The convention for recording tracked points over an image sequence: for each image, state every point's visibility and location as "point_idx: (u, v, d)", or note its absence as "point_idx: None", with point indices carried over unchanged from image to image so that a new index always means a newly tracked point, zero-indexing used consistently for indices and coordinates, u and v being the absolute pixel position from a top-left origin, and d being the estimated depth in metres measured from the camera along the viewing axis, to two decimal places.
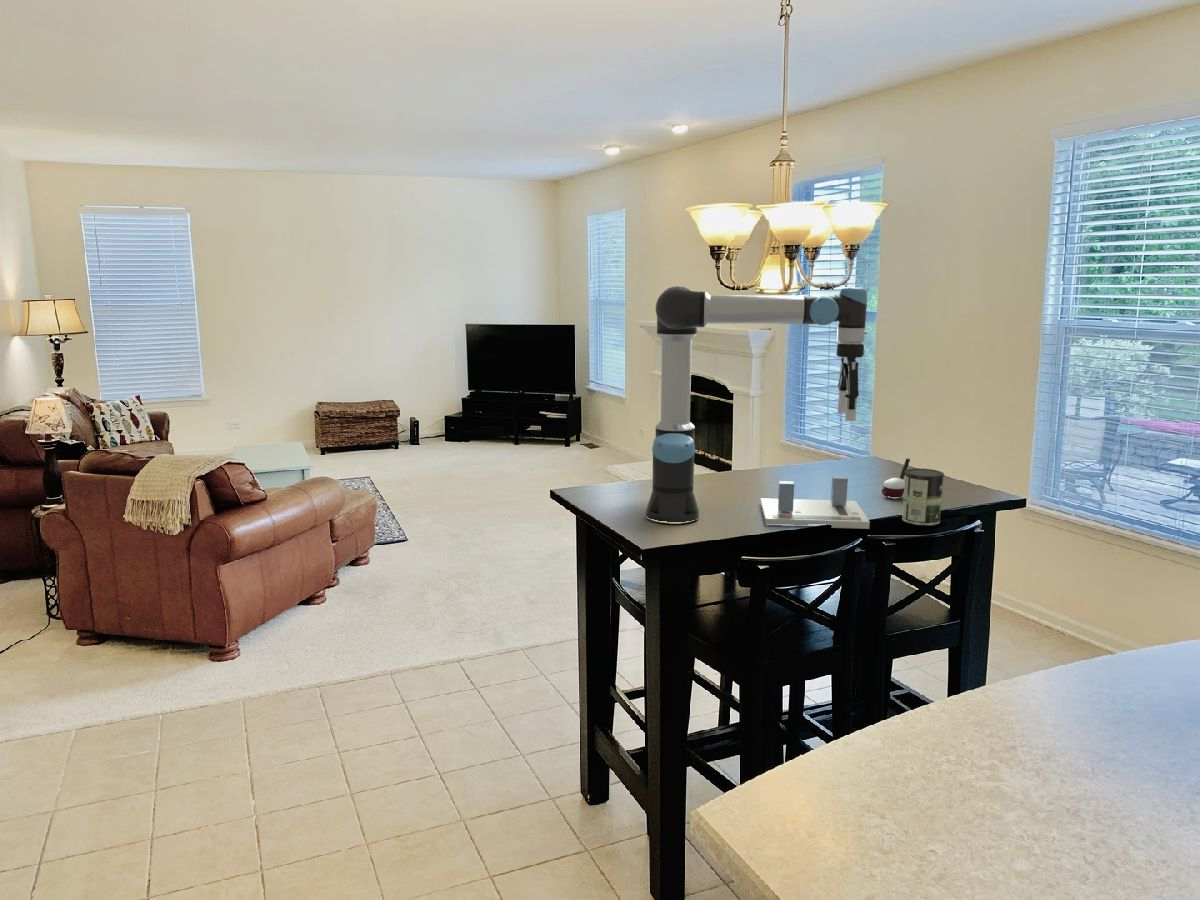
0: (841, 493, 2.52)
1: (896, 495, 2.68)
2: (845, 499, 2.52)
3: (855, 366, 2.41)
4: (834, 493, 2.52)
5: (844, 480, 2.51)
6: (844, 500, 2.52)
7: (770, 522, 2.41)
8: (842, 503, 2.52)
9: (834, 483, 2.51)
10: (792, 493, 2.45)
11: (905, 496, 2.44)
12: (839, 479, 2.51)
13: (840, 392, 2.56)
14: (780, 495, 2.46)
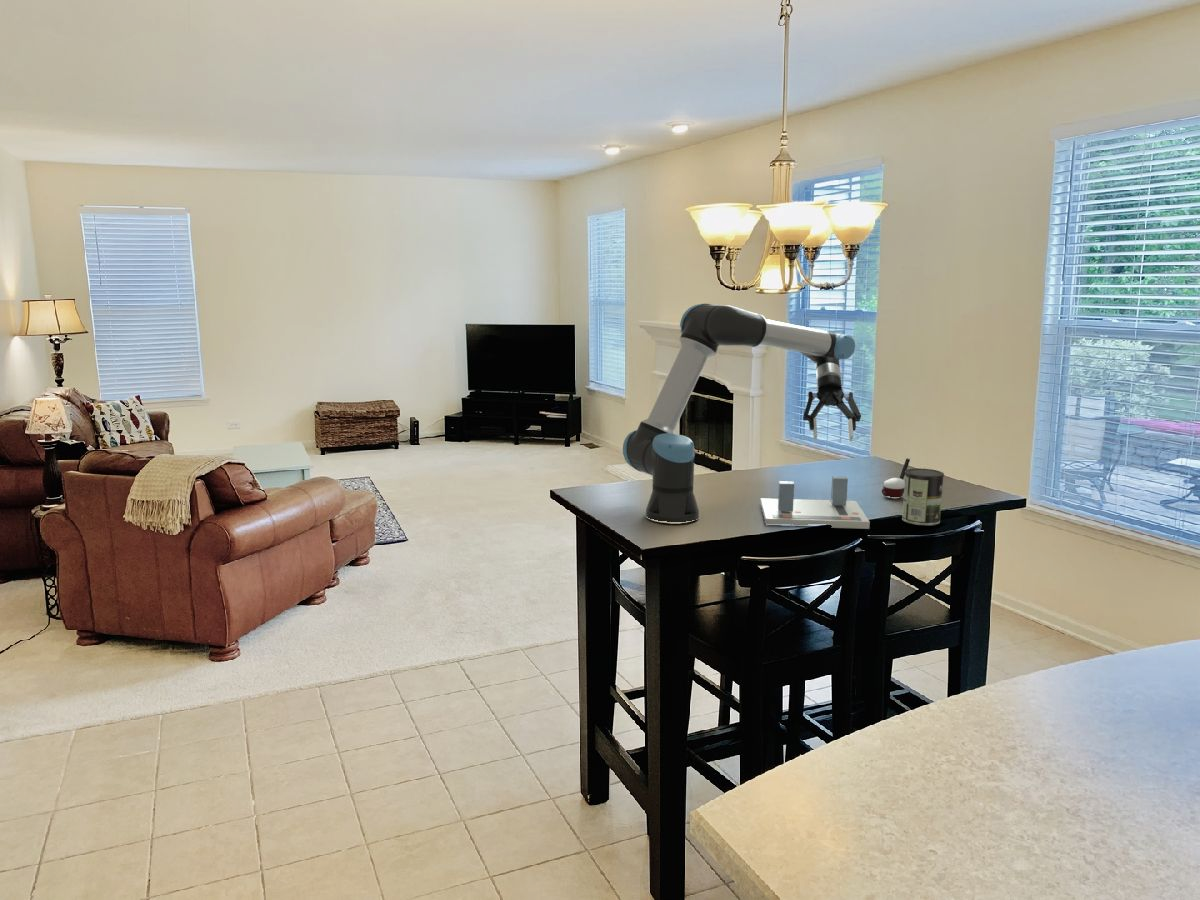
0: (841, 493, 2.52)
1: (896, 495, 2.68)
2: (845, 499, 2.52)
3: None
4: (834, 493, 2.52)
5: (844, 480, 2.51)
6: (844, 500, 2.52)
7: (770, 522, 2.41)
8: (842, 503, 2.52)
9: (834, 483, 2.51)
10: (792, 493, 2.45)
11: (905, 496, 2.44)
12: (839, 479, 2.51)
13: None
14: (780, 495, 2.46)
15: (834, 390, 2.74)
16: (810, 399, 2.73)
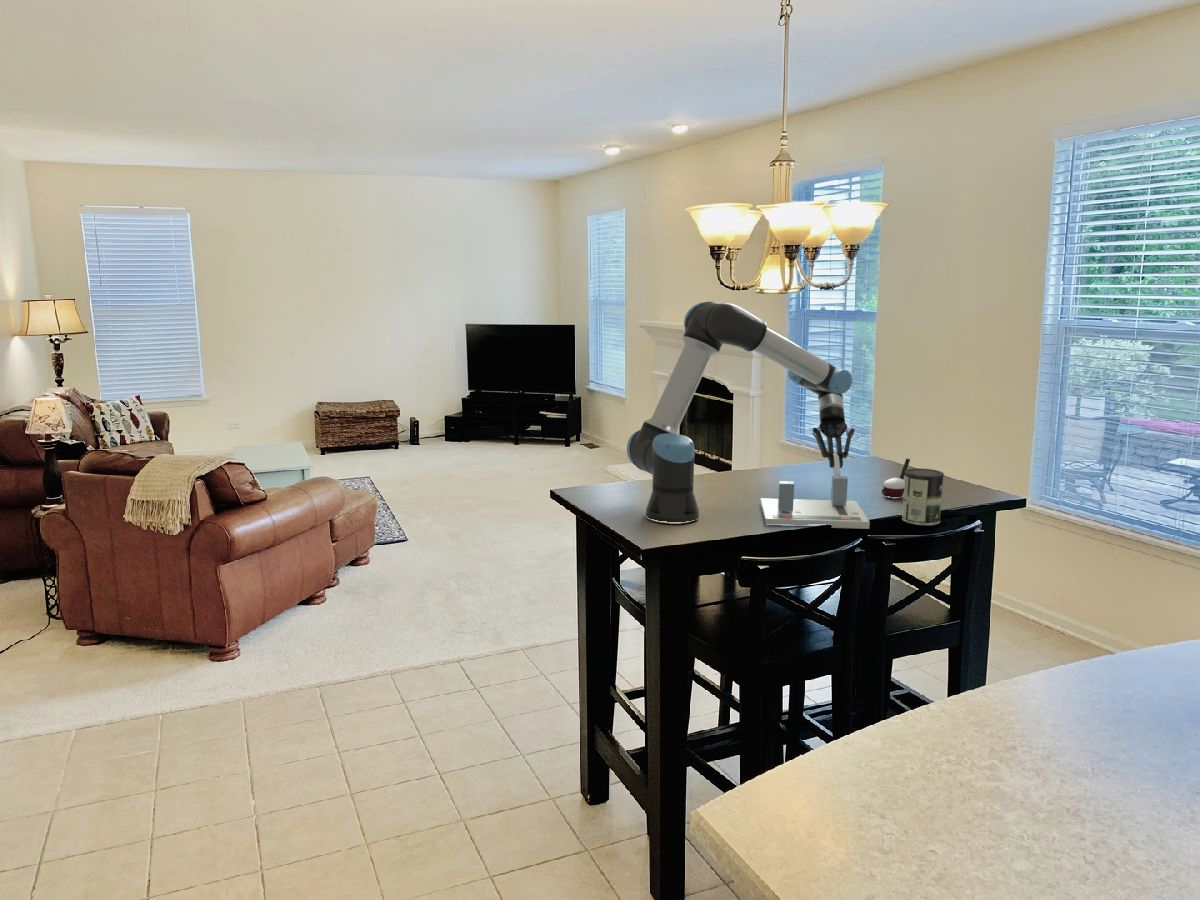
0: (841, 493, 2.52)
1: (896, 495, 2.68)
2: (845, 499, 2.52)
3: (852, 435, 2.69)
4: (834, 493, 2.52)
5: (844, 480, 2.51)
6: (844, 500, 2.52)
7: (770, 522, 2.41)
8: (842, 503, 2.52)
9: (834, 483, 2.51)
10: (792, 493, 2.45)
11: (905, 496, 2.44)
12: (839, 479, 2.51)
13: None
14: (780, 495, 2.46)
15: (839, 420, 2.70)
16: (819, 435, 2.68)
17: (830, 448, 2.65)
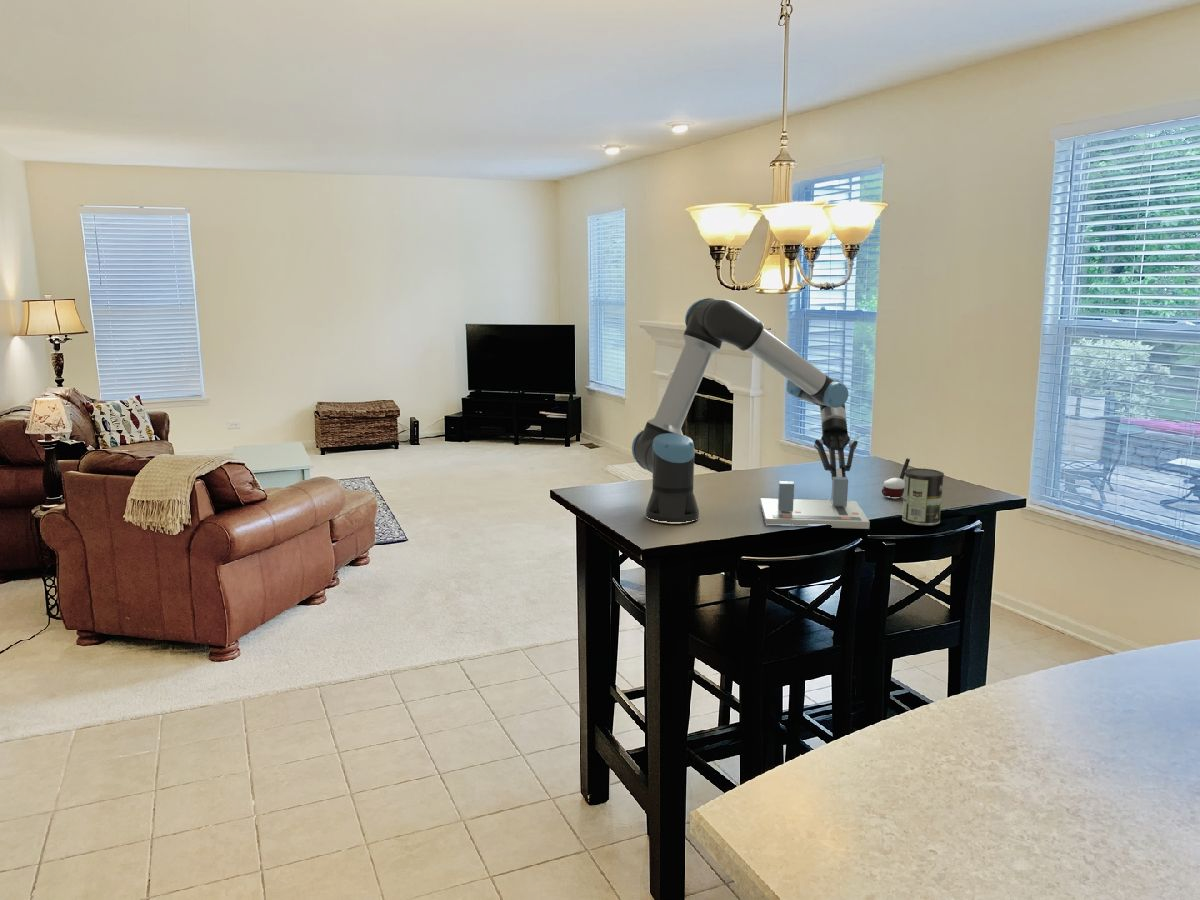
0: (841, 493, 2.51)
1: (896, 495, 2.68)
2: (846, 500, 2.51)
3: (855, 447, 2.63)
4: (834, 494, 2.51)
5: (845, 481, 2.50)
6: (845, 501, 2.51)
7: (770, 522, 2.41)
8: (843, 504, 2.51)
9: (834, 484, 2.50)
10: (792, 493, 2.45)
11: (905, 496, 2.44)
12: (839, 480, 2.50)
13: None
14: (780, 495, 2.46)
15: (842, 432, 2.64)
16: (821, 447, 2.62)
17: (832, 461, 2.59)
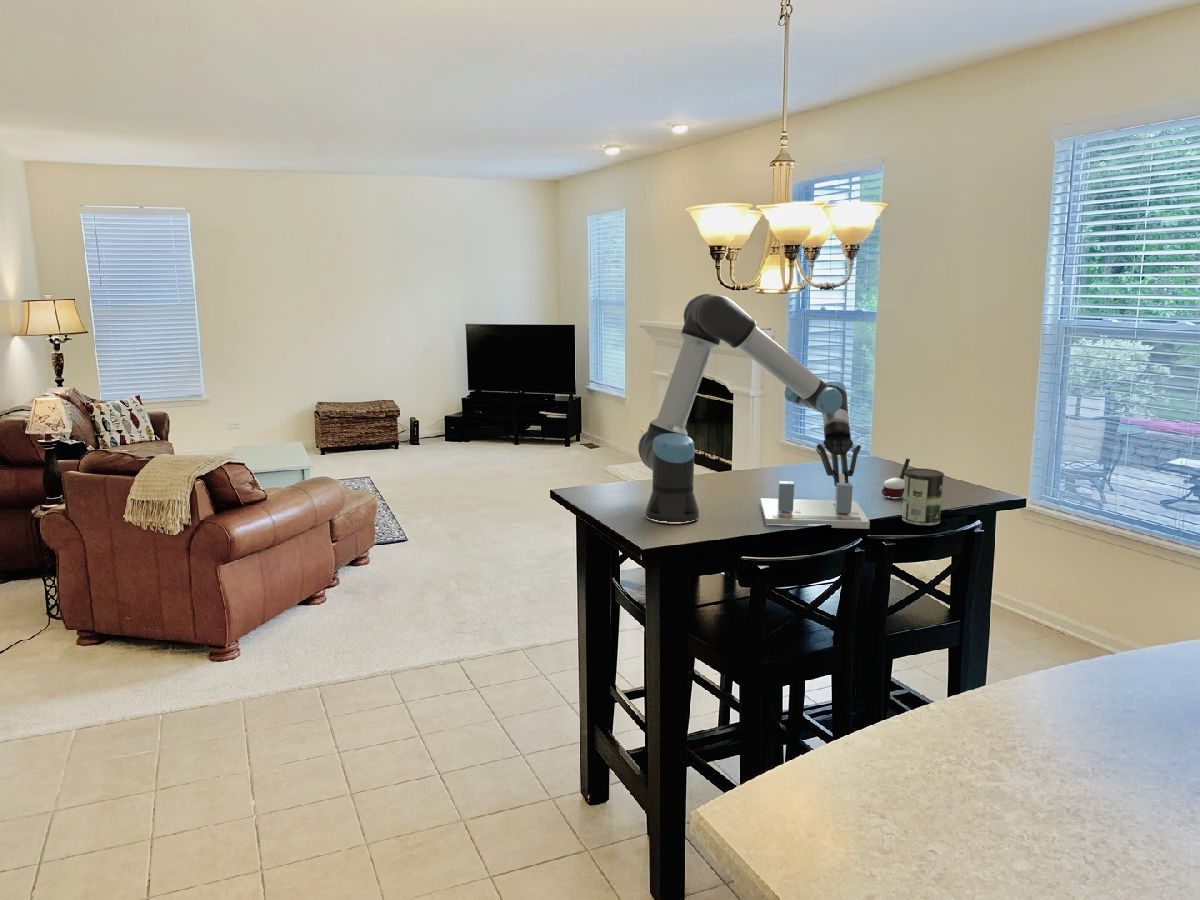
0: (846, 500, 2.44)
1: (896, 495, 2.68)
2: (850, 507, 2.44)
3: (858, 452, 2.56)
4: (838, 500, 2.44)
5: (849, 487, 2.43)
6: (849, 508, 2.44)
7: (770, 522, 2.41)
8: (847, 511, 2.44)
9: (838, 490, 2.43)
10: (792, 493, 2.45)
11: (905, 496, 2.44)
12: (844, 486, 2.43)
13: None
14: (780, 495, 2.46)
15: (845, 436, 2.57)
16: (823, 452, 2.55)
17: (835, 466, 2.52)
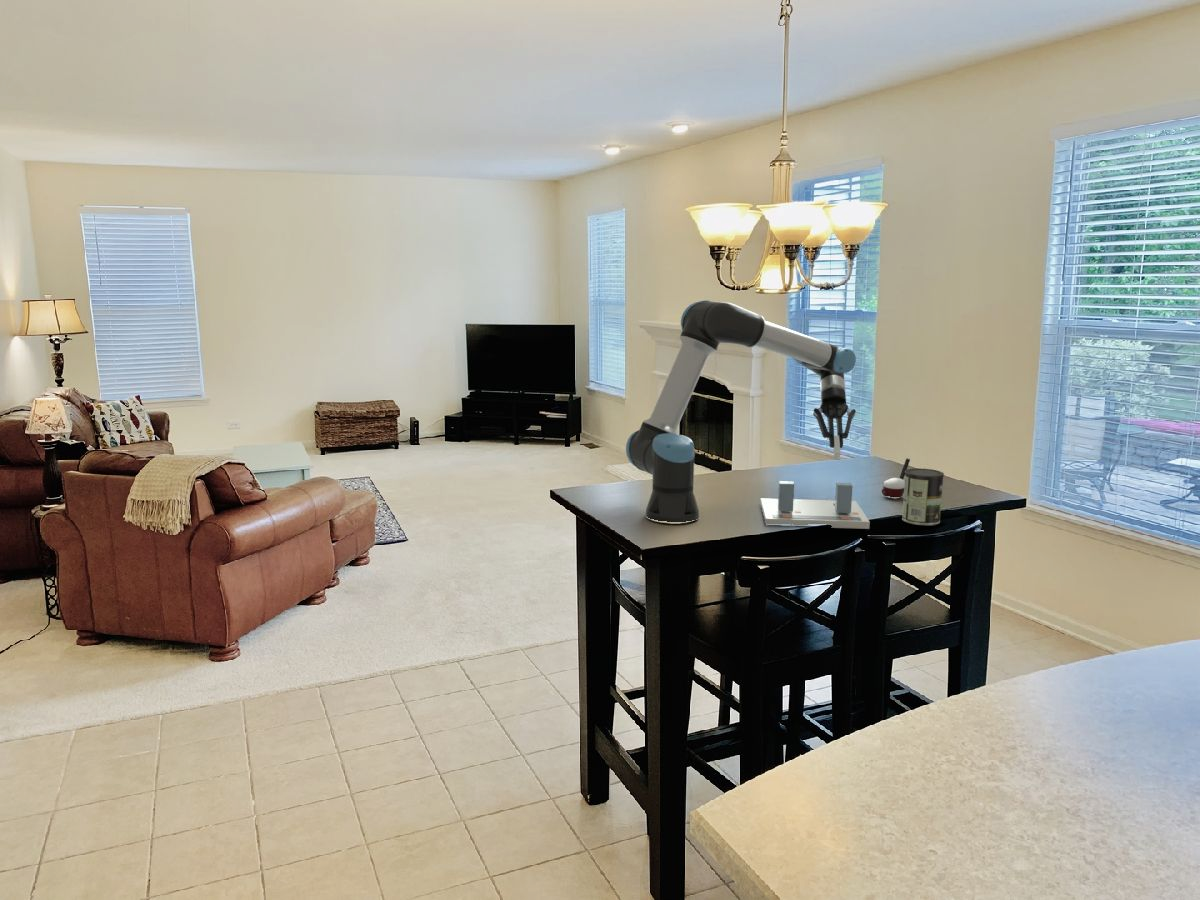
0: (845, 500, 2.44)
1: (896, 495, 2.68)
2: (850, 506, 2.44)
3: (853, 416, 2.69)
4: (838, 500, 2.44)
5: (849, 487, 2.43)
6: (849, 507, 2.44)
7: (770, 522, 2.41)
8: (847, 511, 2.44)
9: (838, 490, 2.43)
10: (792, 493, 2.45)
11: (905, 496, 2.44)
12: (843, 486, 2.43)
13: None
14: (780, 495, 2.46)
15: (840, 401, 2.71)
16: (820, 415, 2.68)
17: (830, 428, 2.65)
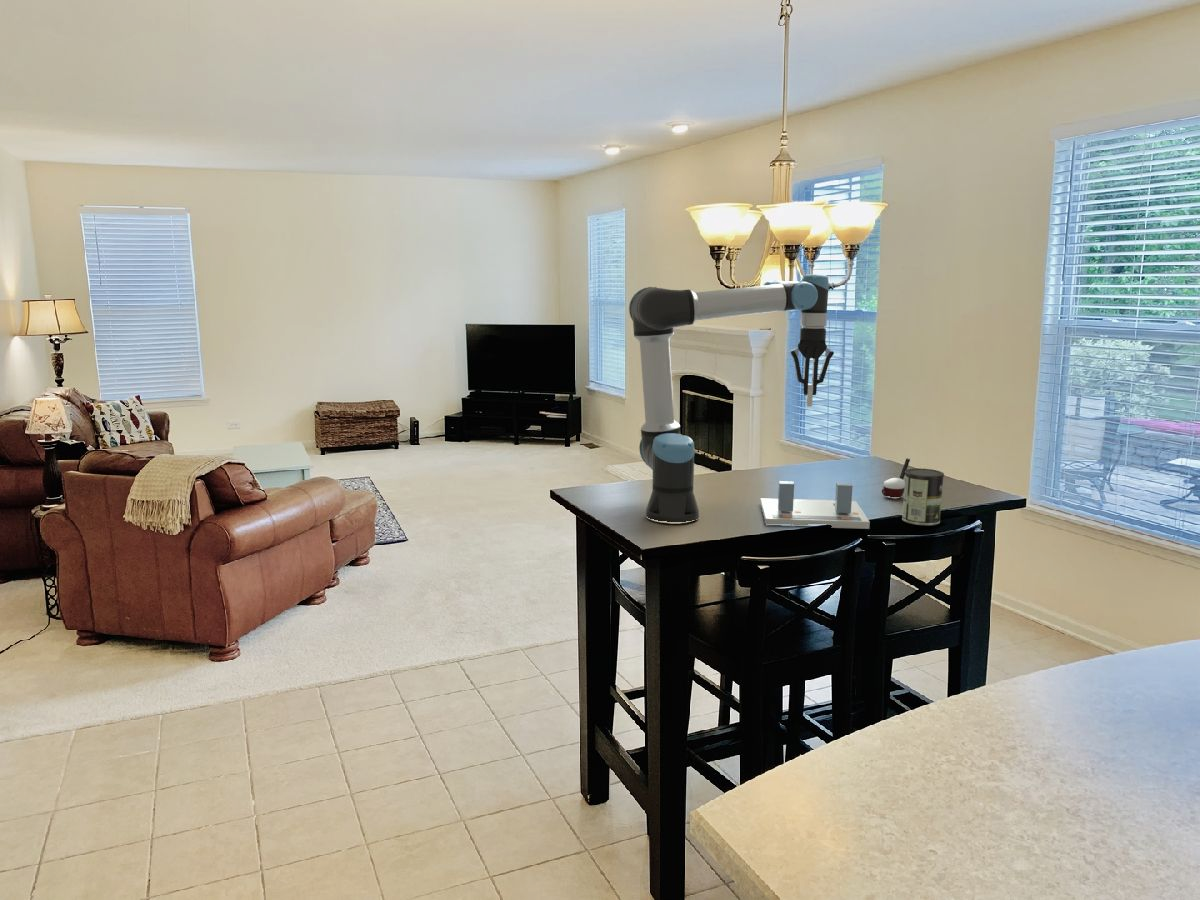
0: (845, 500, 2.44)
1: (896, 495, 2.68)
2: (850, 506, 2.44)
3: None
4: (838, 500, 2.44)
5: (849, 487, 2.43)
6: (849, 507, 2.44)
7: (770, 522, 2.41)
8: (847, 511, 2.44)
9: (838, 490, 2.43)
10: (792, 493, 2.45)
11: (905, 496, 2.44)
12: (843, 486, 2.43)
13: None
14: (780, 495, 2.46)
15: (819, 341, 2.58)
16: (796, 360, 2.60)
17: (805, 376, 2.60)
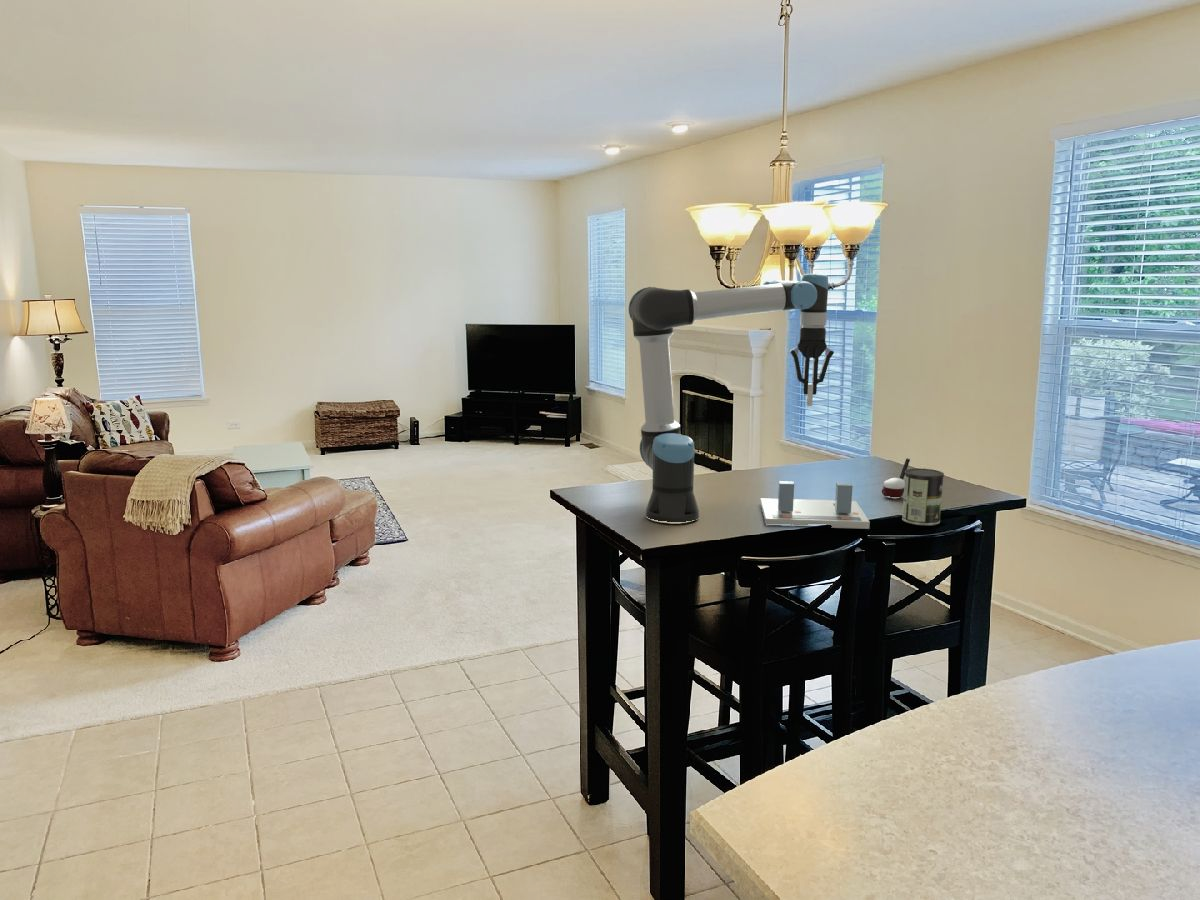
0: (845, 500, 2.44)
1: (896, 495, 2.68)
2: (850, 506, 2.44)
3: None
4: (838, 500, 2.44)
5: (849, 487, 2.43)
6: (849, 507, 2.44)
7: (770, 522, 2.41)
8: (847, 511, 2.44)
9: (838, 490, 2.43)
10: (792, 493, 2.45)
11: (905, 496, 2.44)
12: (843, 486, 2.43)
13: None
14: (780, 495, 2.46)
15: (819, 340, 2.58)
16: (796, 360, 2.59)
17: (805, 375, 2.60)
